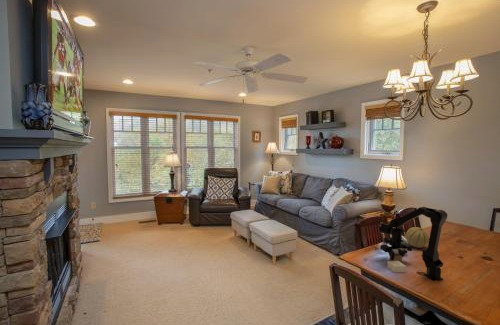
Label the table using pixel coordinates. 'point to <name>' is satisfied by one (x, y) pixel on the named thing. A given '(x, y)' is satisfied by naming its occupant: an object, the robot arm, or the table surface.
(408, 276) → the table surface
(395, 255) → the walnut cube
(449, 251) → the table surface
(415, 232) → the cantaloupe
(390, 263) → the cream block
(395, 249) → the light bulb box
